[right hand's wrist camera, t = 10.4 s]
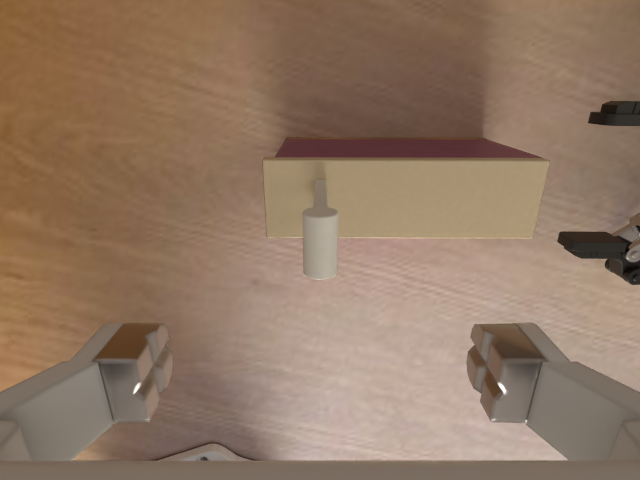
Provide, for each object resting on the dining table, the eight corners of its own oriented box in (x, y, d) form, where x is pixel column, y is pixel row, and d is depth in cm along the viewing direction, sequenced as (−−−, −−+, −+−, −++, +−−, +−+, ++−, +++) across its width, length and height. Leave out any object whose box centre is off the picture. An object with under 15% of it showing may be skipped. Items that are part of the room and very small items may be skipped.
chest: (288, 195, 34) (277, 233, 25) (286, 137, 32) (274, 156, 23) (474, 196, 34) (526, 233, 25) (483, 137, 32) (542, 157, 23)
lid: (268, 233, 25) (244, 300, 17) (264, 157, 23) (235, 193, 15) (526, 233, 25) (619, 300, 17) (542, 157, 23) (654, 193, 15)
